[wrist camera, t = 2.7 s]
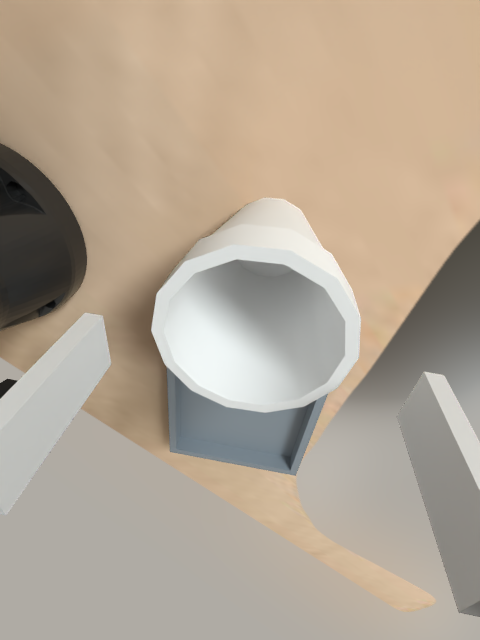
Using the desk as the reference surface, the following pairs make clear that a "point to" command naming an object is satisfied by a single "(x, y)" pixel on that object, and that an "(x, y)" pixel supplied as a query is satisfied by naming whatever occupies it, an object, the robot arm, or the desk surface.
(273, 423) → the grey tray
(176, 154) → the desk surface
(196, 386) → the foam cup
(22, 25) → the desk surface
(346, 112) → the desk surface
